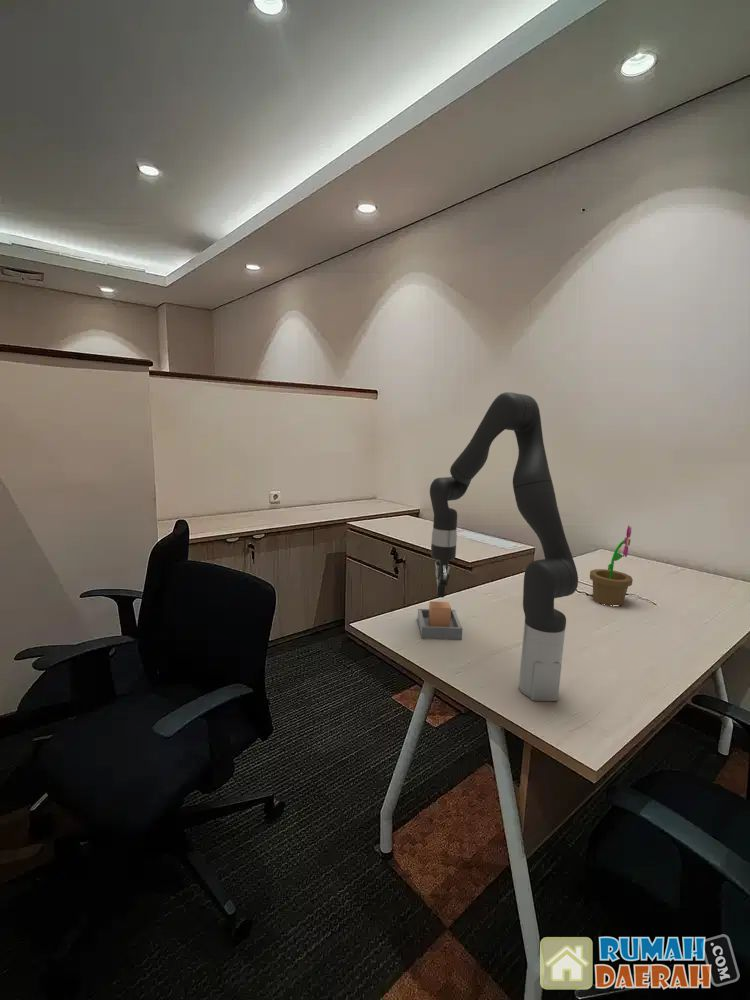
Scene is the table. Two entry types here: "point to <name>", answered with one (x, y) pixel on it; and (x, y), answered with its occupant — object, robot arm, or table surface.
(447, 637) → the chassis bay
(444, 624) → the terracotta cube
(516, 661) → the table surface
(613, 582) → the flowerpot
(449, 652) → the table surface
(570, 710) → the table surface
